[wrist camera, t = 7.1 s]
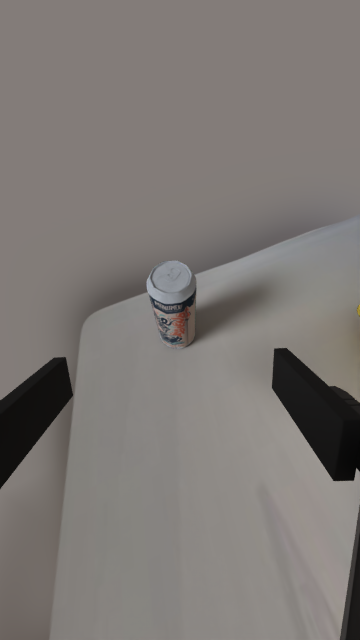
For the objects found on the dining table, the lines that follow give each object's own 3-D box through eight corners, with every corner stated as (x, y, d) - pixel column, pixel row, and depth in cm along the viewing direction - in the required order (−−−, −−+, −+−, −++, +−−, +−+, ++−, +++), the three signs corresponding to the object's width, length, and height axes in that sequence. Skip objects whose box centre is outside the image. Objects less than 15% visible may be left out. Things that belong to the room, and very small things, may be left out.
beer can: (153, 339, 32) (134, 283, 22) (172, 313, 34) (163, 250, 24) (183, 356, 31) (178, 306, 20) (201, 328, 33) (206, 268, 22)
